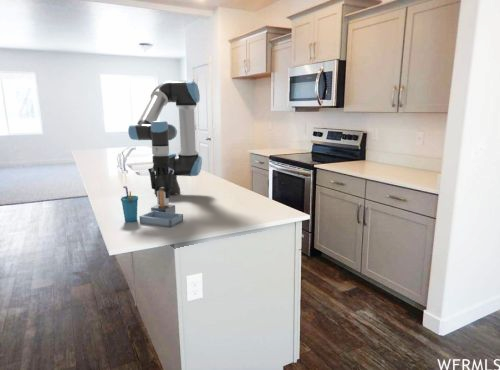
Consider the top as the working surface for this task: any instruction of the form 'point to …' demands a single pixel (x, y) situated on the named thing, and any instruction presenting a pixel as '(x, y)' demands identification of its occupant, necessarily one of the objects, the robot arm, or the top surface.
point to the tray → (161, 218)
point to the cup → (129, 206)
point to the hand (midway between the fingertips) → (163, 204)
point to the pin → (161, 197)
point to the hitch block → (167, 209)
